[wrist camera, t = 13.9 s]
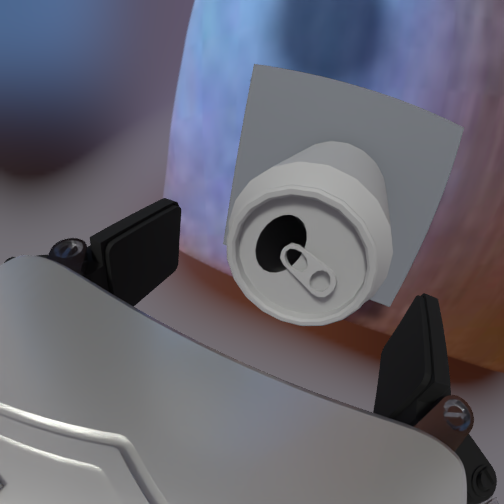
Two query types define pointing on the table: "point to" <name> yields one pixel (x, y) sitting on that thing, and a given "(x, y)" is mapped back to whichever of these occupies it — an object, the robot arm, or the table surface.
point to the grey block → (359, 135)
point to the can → (312, 235)
